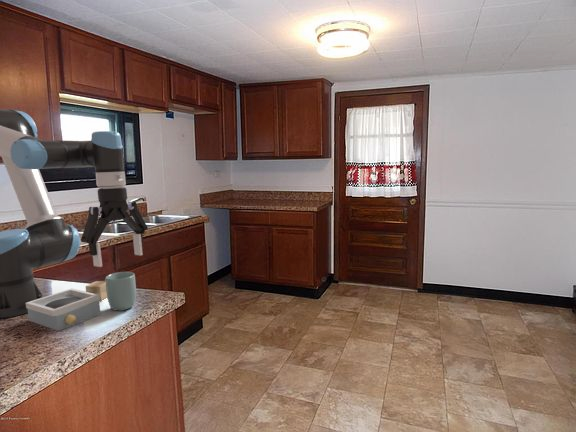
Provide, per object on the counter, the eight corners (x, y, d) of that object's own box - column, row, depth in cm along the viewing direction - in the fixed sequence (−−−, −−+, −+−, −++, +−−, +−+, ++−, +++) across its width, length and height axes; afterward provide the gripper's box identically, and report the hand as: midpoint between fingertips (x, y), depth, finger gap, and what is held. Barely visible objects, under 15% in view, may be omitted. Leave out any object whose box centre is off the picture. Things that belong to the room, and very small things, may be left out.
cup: (126, 313, 110) (123, 280, 108) (102, 312, 111) (99, 279, 110) (142, 303, 117) (139, 272, 116) (119, 302, 119) (116, 271, 117)
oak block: (87, 301, 121) (85, 286, 120) (97, 295, 126) (95, 281, 125) (101, 302, 120) (100, 286, 119) (111, 296, 125) (109, 281, 124)
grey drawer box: (27, 321, 106) (24, 302, 105) (72, 305, 117) (70, 288, 117) (59, 332, 99) (56, 312, 98) (104, 314, 110) (102, 295, 109)
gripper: (77, 191, 97) (87, 273, 100) (155, 184, 118) (161, 251, 121) (60, 191, 100) (69, 270, 103) (139, 184, 122) (145, 249, 125)
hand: (119, 260), depth 112 cm, fingers open, 13 cm apart
